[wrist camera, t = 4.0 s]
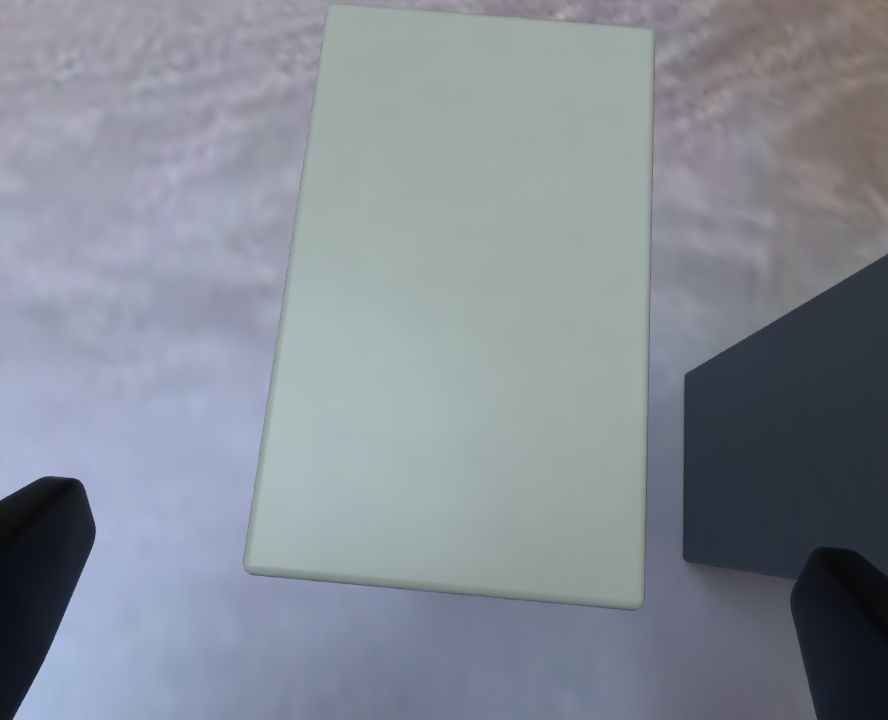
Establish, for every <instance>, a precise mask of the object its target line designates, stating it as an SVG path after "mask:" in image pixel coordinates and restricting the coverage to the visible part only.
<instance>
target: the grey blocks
mask: <svg viewBox="0 0 888 720" xmlns="http://www.w3.org/2000/svg"><path fill="white" fill-rule="evenodd" d="M820 546H826V547H837V548H848V549H851V550H854V551H856V552H857V553H859V554H860V555H861V556H863V557H864V558H865V559H866V560H868V561H869V562H870V563H871V564H873V565H874V566H875V567H876V568H878V569H879V570H880V571H881V572H883V573H884V574H885V575H886V576H888V254H887V255H885V256H884V257H882V258H880V259H878V260H877V261H875V262H873V263H872V264H870V265H868V266H867V267H865V268H863V269H862V270H860V271H858V272H857V273H855V274H853V275H852V276H850V277H848V278H846V279H845V280H843V281H841V282H840V283H838V284H836V285H835V286H833V287H831V288H830V289H828V290H826V291H825V292H823V293H821V294H820V295H818V296H816V297H814V298H813V299H811V300H809V301H808V302H806V303H804V304H803V305H801V306H799V307H798V308H796V309H794V310H793V311H791V312H789V313H788V314H786V315H784V316H782V317H781V318H779V319H777V320H776V321H774V322H772V323H771V324H769V325H767V326H766V327H764V328H762V329H761V330H759V331H757V332H756V333H754V334H752V335H750V336H749V337H747V338H745V339H744V340H742V341H740V342H739V343H737V344H735V345H734V346H732V347H730V348H729V349H727V350H725V351H724V352H722V353H720V354H718V355H717V356H715V357H713V358H712V359H710V360H708V361H707V362H705V363H703V364H702V365H700V366H698V367H697V368H695V369H693V370H692V371H690V372H688V373H686V375H685V478H684V559H685V560H686V561H688V562H693V563H699V564H705V565H711V566H717V567H723V568H728V569H734V570H740V571H746V572H752V573H758V574H763V575H769V576H775V577H781V578H787V579H793V580H797V579H798V577H799V575H800V573H801V571H802V569H803V567H804V565H805V563H806V561H807V559H808V557H809V555H810V553H811V552H812V551H813V550H814V549H815V548H817V547H820Z"/></svg>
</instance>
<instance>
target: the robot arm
mask: <svg viewBox="0 0 888 720" xmlns="http://www.w3.org/2000/svg"><path fill="white" fill-rule="evenodd" d="M95 534H96V527H95V522H94V519H93V515H92V512H91V508H90V505H89V502H88V498H87V495H86V491H85V488H84V486H83V484H82V483H81V482H80V481H79V480H77V479H75V478H65V477H54V476H47V477H42V478H40V479H38V480H36V481H34V482H32V483H31V484H29V485H27V486H25V487H23V488H22V489H20V490H18V491H16V492H15V493H13V494H11V495H9V496H7V497H6V498H4V499H2V500H0V720H13V718H14V716H15V714H16V712H17V710H18V709H19V707H20V705H21V703H22V701H23V699H24V698H25V696H26V694H27V692H28V690H29V688H30V687H31V685H32V683H33V681H34V679H35V677H36V675H37V673H38V671H39V669H40V668H41V666H42V664H43V662H44V660H45V657H46V655H47V653H48V651H49V649H50V646H51V644H52V642H53V640H54V637H55V635H56V633H57V630H58V628H59V625H60V623H61V621H62V618H63V616H64V613H65V611H66V609H67V606H68V604H69V602H70V599H71V597H72V594H73V592H74V590H75V587H76V585H77V582H78V580H79V578H80V575H81V573H82V571H83V568H84V566H85V563H86V561H87V559H88V556H89V554H90V551H91V549H92V547H93V544H94V540H95ZM790 604H791V612H792V616H793V620H794V624H795V629H796V633H797V637H798V641H799V645H800V650H801V654H802V658H803V662H804V667H805V671H806V675H807V679H808V683H809V688H810V692H811V696H812V700H813V705H814V709H815V713H816V717H817V720H888V576H886V575H885V574H884V573H883V572H881V571H880V570H879V569H878V568H876V567H875V566H874V565H873V564H871V563H870V562H869V561H868V560H866V559H865V558H864V557H863V556H861V555H860V554H859V553H857V552H856V551H854V550H851V549H848V548H837V547H826V546H820V547H817V548H815V549H814V550H813V551H812V552H811V553H810V555H809V557H808V559H807V561H806V563H805V565H804V567H803V569H802V571H801V573H800V575H799V577H798V579H797V581H796V583H795V585H794V587H793V589H792V592H791V599H790Z"/></svg>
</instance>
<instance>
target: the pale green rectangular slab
mask: <svg viewBox="0 0 888 720" xmlns="http://www.w3.org/2000/svg"><path fill="white" fill-rule="evenodd" d="M654 76H655V34H654V31H653V30H652V29H650V28H644V27H631V26H619V25H606V24H593V23H581V22H568V21H556V20H543V19H530V18H518V17H505V16H493V15H480V14H467V13H455V12H442V11H430V10H417V9H404V8H392V7H379V6H366V5H354V4H341V3H333V4H330V5H329V7H328V9H327V11H326V17H325V23H324V30H323V37H322V43H321V50H320V56H319V63H318V70H317V76H316V83H315V89H314V96H313V103H312V109H311V116H310V122H309V129H308V136H307V142H306V149H305V155H304V162H303V169H302V175H301V182H300V188H299V195H298V202H297V208H296V215H295V221H294V228H293V235H292V241H291V248H290V254H289V261H288V268H287V274H286V281H285V287H284V294H283V301H282V307H281V314H280V320H279V327H278V334H277V340H276V347H275V353H274V360H273V367H272V373H271V380H270V386H269V393H268V400H267V406H266V413H265V419H264V426H263V433H262V439H261V446H260V452H259V459H258V466H257V472H256V479H255V486H254V492H253V499H252V505H251V512H250V519H249V525H248V532H247V538H246V545H245V552H244V558H243V566H244V570H245V571H246V572H247V573H249V574H251V575H256V576H267V577H278V578H288V579H299V580H310V581H321V582H331V583H342V584H353V585H364V586H374V587H385V588H396V589H407V590H417V591H428V592H439V593H450V594H460V595H471V596H482V597H492V598H503V599H514V600H525V601H535V602H546V603H557V604H568V605H578V606H589V607H600V608H611V609H621V610H632V611H633V610H636V609H639V608H641V607H642V605H643V602H644V600H645V548H646V496H647V443H648V391H649V338H650V286H651V234H652V181H653V129H654Z"/></svg>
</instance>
